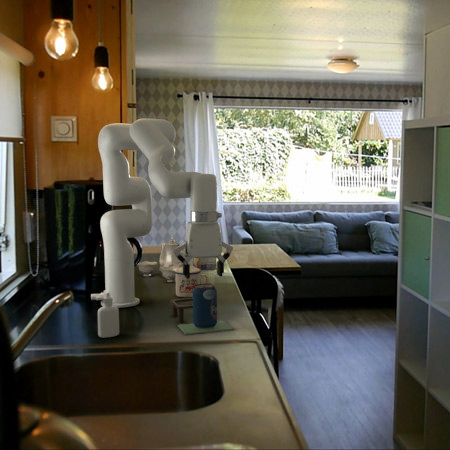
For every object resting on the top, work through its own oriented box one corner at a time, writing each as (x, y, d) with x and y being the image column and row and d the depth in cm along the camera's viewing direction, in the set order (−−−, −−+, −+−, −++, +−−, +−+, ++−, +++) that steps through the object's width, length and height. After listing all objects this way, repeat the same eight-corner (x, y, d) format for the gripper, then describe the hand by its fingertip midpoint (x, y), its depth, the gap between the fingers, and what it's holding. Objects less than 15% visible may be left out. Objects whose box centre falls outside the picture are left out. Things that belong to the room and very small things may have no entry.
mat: (185, 334, 179) (185, 333, 179) (177, 326, 189) (177, 324, 189) (233, 329, 185) (233, 328, 184) (223, 321, 194) (223, 320, 194)
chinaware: (130, 279, 268) (125, 240, 265) (161, 270, 281) (157, 232, 277) (174, 288, 250) (170, 246, 247) (205, 278, 262) (202, 238, 259)
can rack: (178, 323, 192) (177, 306, 191) (170, 315, 201) (170, 299, 200) (211, 320, 195) (211, 303, 195) (202, 312, 205) (201, 297, 204)
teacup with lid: (177, 298, 225) (176, 265, 224) (173, 293, 234) (172, 261, 232) (211, 296, 228) (210, 263, 227) (206, 291, 237) (205, 259, 236)
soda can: (218, 329, 184) (217, 287, 182) (193, 330, 183) (193, 288, 181) (216, 322, 190) (215, 282, 189) (192, 323, 189) (192, 283, 188)
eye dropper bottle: (99, 334, 180) (97, 291, 179) (119, 333, 181) (118, 291, 180) (97, 338, 176) (96, 295, 174) (118, 337, 177) (117, 294, 175)
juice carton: (192, 266, 292) (192, 213, 289) (209, 265, 294) (208, 212, 292) (199, 270, 280) (199, 215, 278) (216, 269, 283) (215, 214, 281)
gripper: (228, 215, 190) (228, 272, 192) (170, 216, 183) (170, 276, 186) (236, 218, 183) (236, 277, 185) (176, 219, 177) (177, 281, 179)
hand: (203, 276), depth 185 cm, fingers open, 9 cm apart
